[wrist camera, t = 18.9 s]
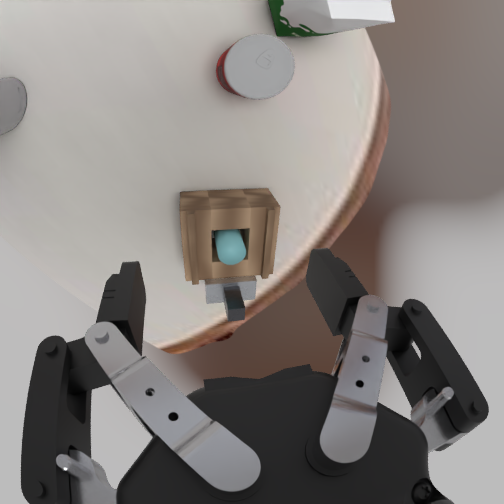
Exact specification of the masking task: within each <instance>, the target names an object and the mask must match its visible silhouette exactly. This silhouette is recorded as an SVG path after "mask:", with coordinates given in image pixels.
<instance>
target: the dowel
mask: <svg viewBox="0 0 504 504" xmlns="http://www.w3.org/2000/svg"><path fill="white" fill-rule="evenodd" d="M213 231H214V237H215V242H216V247H217V252H218V257H219V259H220V261H221V262H223V263H224V264H227V265H234V264H237V263H239V262H241V261H242V260H243V259H244V257H245V255H246V249H245V246H244V243H243V240H242V237H241V234H240V231H239V229H228V230H213Z"/></svg>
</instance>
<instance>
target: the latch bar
mask: <svg viewBox="0 0 504 504" xmlns="http://www.w3.org/2000/svg"><path fill="white" fill-rule="evenodd" d="M256 282H257V280H256V277H255V276H248V277H236V278H224V279H211V280H205V290H206V302H207V304H209V303H220V302H224V304H225V309H226V314H227V319H228V321H238V320H244V319H245V306H244V302H243V300H252V299H255V294H256Z"/></svg>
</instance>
